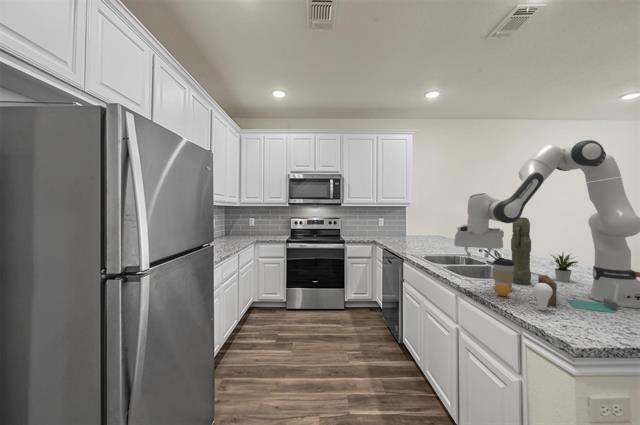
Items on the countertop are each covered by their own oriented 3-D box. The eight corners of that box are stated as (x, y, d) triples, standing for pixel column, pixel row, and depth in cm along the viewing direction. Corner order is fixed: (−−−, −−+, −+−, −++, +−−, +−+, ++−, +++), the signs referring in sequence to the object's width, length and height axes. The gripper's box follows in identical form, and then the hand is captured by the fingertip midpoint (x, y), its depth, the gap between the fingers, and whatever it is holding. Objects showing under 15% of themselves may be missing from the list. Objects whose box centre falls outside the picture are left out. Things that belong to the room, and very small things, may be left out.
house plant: (551, 283, 151) (552, 252, 151) (539, 277, 164) (539, 248, 164) (584, 285, 147) (584, 253, 147) (569, 278, 161) (569, 249, 160)
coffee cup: (517, 292, 137) (518, 261, 136) (497, 291, 139) (497, 260, 138) (509, 286, 146) (509, 257, 145) (489, 285, 148) (490, 257, 147)
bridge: (546, 296, 130) (546, 275, 130) (556, 307, 117) (556, 283, 117) (538, 295, 132) (538, 274, 131) (547, 305, 118) (547, 282, 118)
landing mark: (601, 303, 121) (601, 302, 121) (615, 313, 110) (615, 312, 110) (565, 299, 126) (565, 298, 126) (575, 308, 115) (575, 307, 115)
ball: (508, 294, 133) (508, 282, 133) (510, 298, 127) (511, 285, 127) (493, 293, 135) (493, 280, 135) (495, 296, 130) (495, 283, 130)
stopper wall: (609, 306, 117) (610, 298, 117) (617, 311, 112) (617, 303, 112) (603, 305, 118) (603, 298, 118) (610, 310, 113) (610, 302, 113)
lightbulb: (553, 314, 109) (554, 286, 108) (533, 311, 112) (534, 283, 112) (551, 309, 114) (551, 282, 114) (532, 306, 117) (532, 280, 117)
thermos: (532, 282, 154) (533, 217, 153) (528, 286, 146) (529, 218, 145) (513, 279, 160) (513, 217, 159) (508, 283, 152) (508, 217, 151)
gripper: (502, 228, 133) (502, 257, 134) (454, 226, 142) (454, 254, 143) (504, 229, 128) (504, 259, 128) (454, 227, 137) (454, 256, 137)
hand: (477, 256), depth 135 cm, fingers open, 6 cm apart
